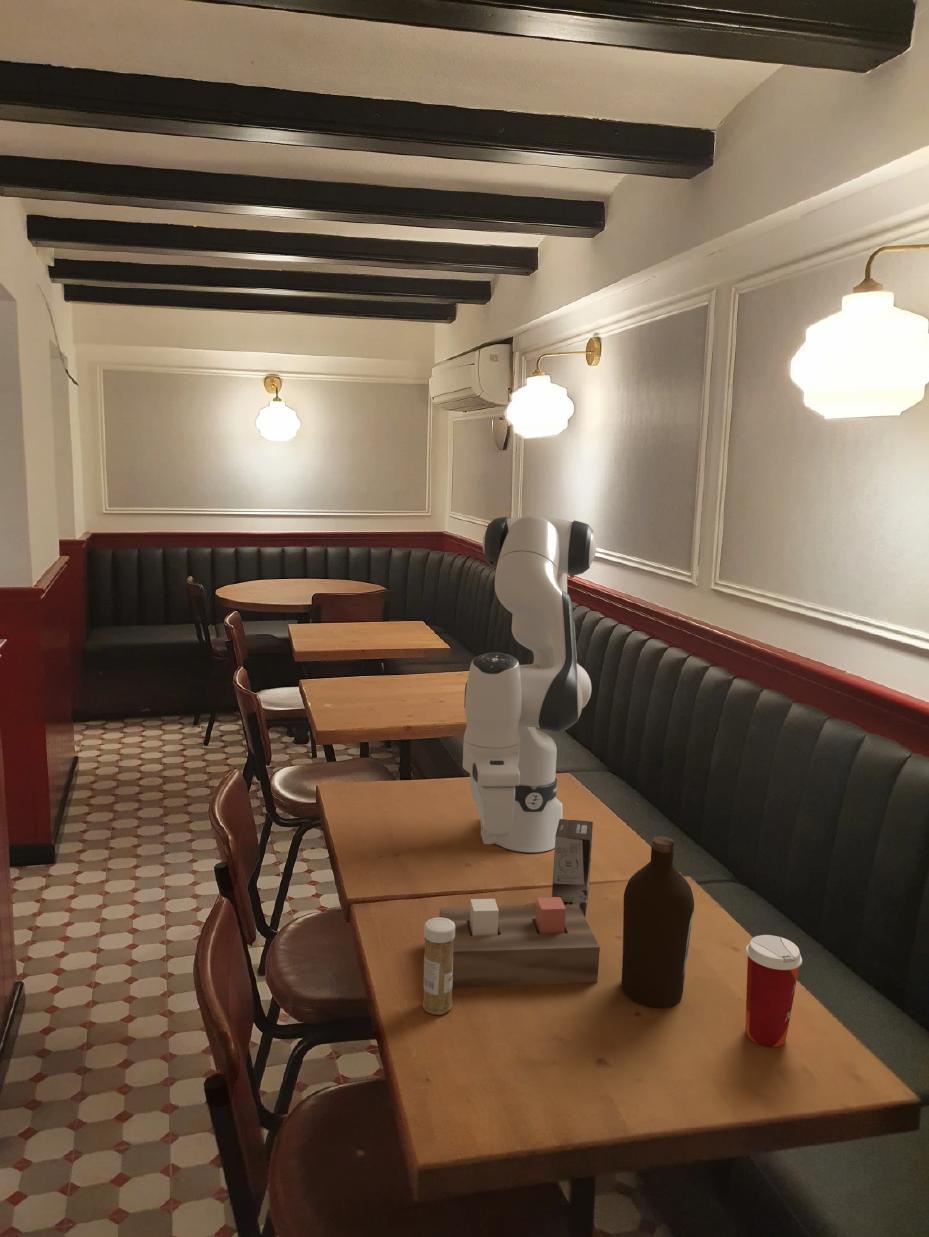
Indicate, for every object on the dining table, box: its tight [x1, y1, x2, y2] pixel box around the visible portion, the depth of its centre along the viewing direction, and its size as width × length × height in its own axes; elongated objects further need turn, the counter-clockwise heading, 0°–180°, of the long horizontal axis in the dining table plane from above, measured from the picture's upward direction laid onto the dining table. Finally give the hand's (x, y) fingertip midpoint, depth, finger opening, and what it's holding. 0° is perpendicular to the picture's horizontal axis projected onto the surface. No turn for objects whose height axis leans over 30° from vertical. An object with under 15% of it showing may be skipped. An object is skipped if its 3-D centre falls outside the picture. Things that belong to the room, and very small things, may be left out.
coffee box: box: [551, 818, 594, 918], centre depth 166 cm, size 9×6×16 cm
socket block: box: [439, 904, 601, 988], centre depth 149 cm, size 14×24×6 cm, turn 97°
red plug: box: [535, 896, 566, 934], centre depth 149 cm, size 4×4×6 cm
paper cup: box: [745, 934, 803, 1048], centre depth 131 cm, size 8×8×14 cm
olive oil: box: [621, 836, 695, 1009], centre depth 140 cm, size 11×11×25 cm
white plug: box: [469, 898, 499, 936], centre depth 148 cm, size 4×4×6 cm
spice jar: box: [422, 917, 455, 1016], centre depth 135 cm, size 5×5×14 cm
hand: (487, 840), depth 145 cm, fingers closed
